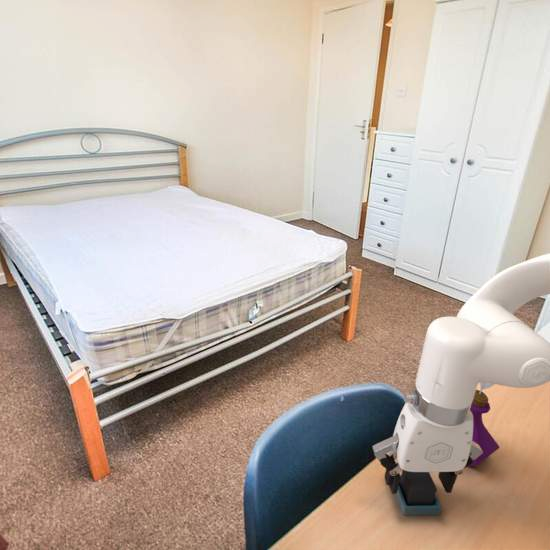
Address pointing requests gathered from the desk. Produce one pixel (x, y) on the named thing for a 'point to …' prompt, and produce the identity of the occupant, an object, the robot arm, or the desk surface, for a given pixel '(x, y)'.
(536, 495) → the desk surface
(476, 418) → the perfume bottle
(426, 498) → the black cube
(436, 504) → the shallow rectangular tray
